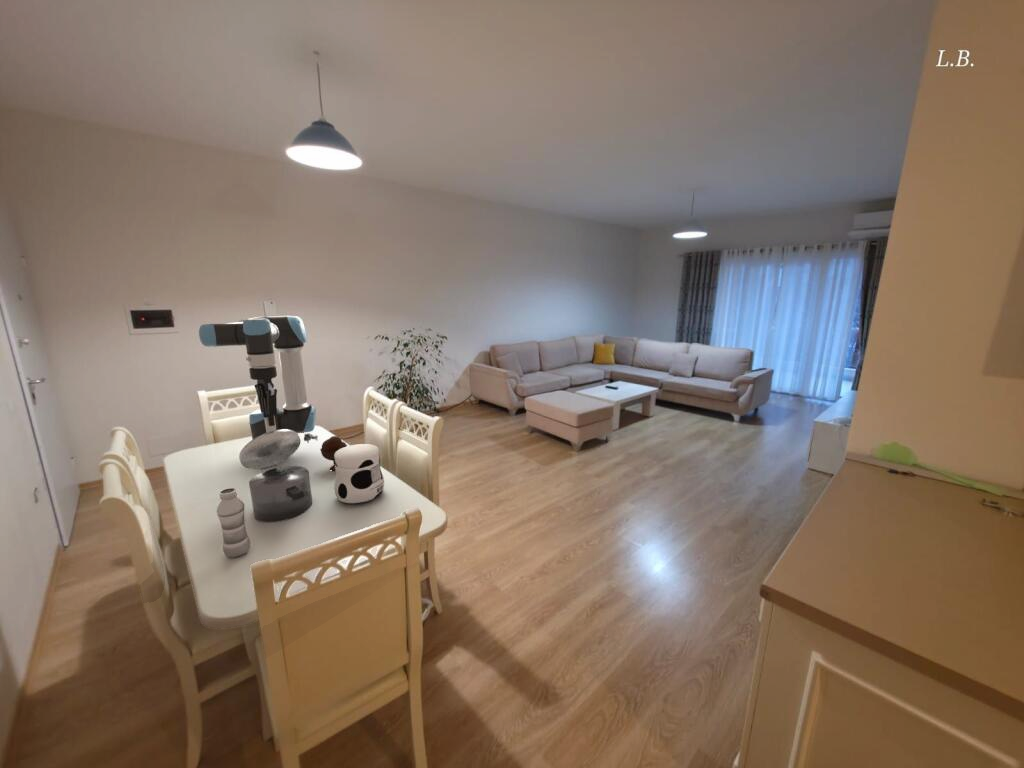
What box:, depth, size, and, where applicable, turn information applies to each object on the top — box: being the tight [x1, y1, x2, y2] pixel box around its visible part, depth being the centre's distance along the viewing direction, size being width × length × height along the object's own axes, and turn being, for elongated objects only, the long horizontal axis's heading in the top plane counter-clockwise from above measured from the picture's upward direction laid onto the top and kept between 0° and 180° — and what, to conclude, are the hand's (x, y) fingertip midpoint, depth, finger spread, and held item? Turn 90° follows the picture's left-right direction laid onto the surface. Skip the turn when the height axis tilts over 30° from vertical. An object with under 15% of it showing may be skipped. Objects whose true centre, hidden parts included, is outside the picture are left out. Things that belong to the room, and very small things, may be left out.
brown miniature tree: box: [319, 435, 348, 472], centre depth 173 cm, size 11×11×15 cm
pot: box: [248, 465, 313, 523], centre depth 139 cm, size 24×18×12 cm
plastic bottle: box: [216, 487, 251, 559], centre depth 115 cm, size 6×7×20 cm
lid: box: [238, 429, 301, 471], centre depth 141 cm, size 20×19×4 cm
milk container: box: [333, 443, 385, 505], centre depth 149 cm, size 17×17×18 cm
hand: (271, 434), depth 137 cm, fingers closed
